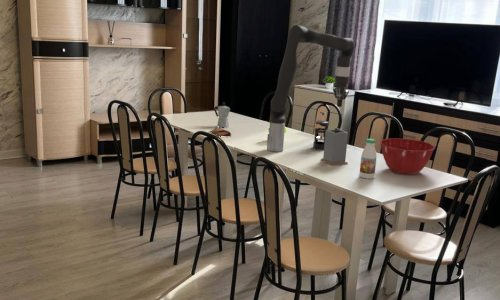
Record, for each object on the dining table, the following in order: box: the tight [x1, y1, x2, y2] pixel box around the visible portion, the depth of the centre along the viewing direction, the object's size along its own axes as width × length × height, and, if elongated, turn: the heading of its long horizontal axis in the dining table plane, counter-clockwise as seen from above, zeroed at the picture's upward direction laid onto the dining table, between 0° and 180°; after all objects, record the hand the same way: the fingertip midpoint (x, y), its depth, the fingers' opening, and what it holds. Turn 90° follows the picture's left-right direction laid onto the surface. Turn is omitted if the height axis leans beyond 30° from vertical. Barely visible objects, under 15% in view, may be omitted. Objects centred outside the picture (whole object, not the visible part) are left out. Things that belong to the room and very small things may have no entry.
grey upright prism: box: [320, 129, 349, 166], centre depth 290 cm, size 11×11×18 cm
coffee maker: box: [213, 102, 232, 128], centre depth 374 cm, size 15×9×18 cm, turn 58°
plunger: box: [333, 127, 341, 133], centre depth 289 cm, size 7×7×14 cm
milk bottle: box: [358, 138, 378, 180], centre depth 263 cm, size 8×8×20 cm
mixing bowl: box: [379, 138, 436, 175], centre depth 279 cm, size 28×28×16 cm
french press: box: [312, 111, 331, 151], centre depth 323 cm, size 12×9×23 cm
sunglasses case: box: [209, 126, 232, 138], centre depth 350 cm, size 18×7×7 cm, turn 34°
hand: (339, 106), depth 284 cm, fingers closed
